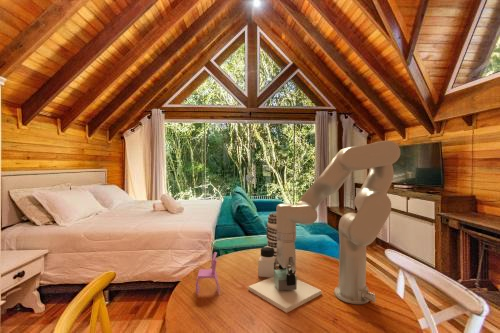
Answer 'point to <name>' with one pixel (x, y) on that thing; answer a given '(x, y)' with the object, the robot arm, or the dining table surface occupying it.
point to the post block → (284, 294)
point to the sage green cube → (283, 280)
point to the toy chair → (208, 273)
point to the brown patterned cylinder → (272, 234)
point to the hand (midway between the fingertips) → (286, 279)
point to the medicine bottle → (266, 262)
